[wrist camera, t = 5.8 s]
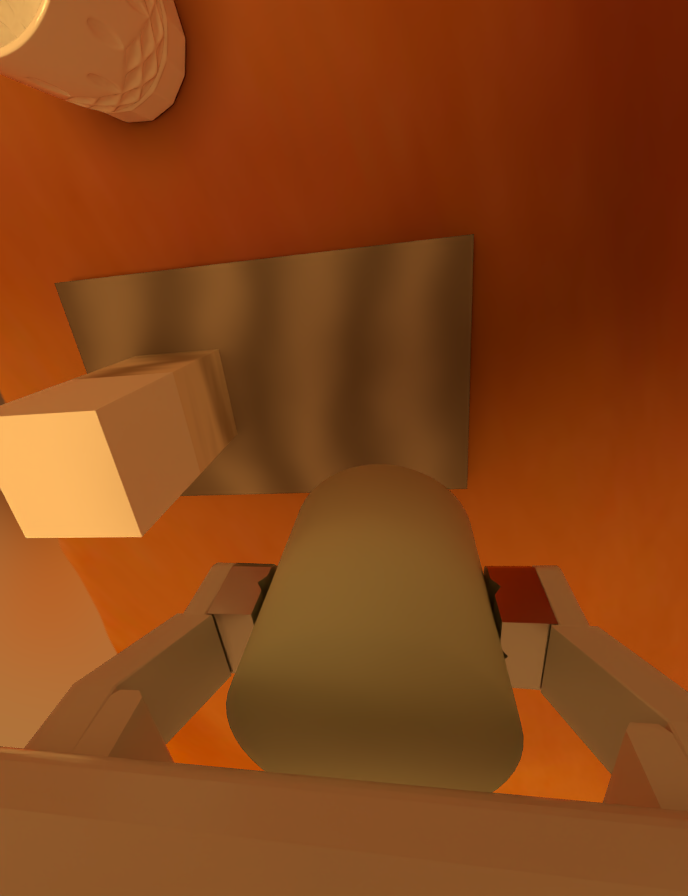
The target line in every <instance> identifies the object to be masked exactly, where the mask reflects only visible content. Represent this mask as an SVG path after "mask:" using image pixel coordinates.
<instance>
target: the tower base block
mask: <svg viewBox="0 0 688 896" xmlns="http://www.w3.org/2000/svg"><path fill="white" fill-rule="evenodd" d="M168 372H173V375H174V379H175V383H176V386H177V390H178V394H179V397H180V401H181V404H182V408H183V412H184V415H185V419H186V422H187V426H188V430H189V433H190V437H191V441H192V444H193V448H194V451H195V455H196V459H197V462H198V466H199V470H200V473H202V472H203V471H204V469H205V468H206V467H207V466H208V465H209V464H210V463H211V462H212V461H213V460H214V459H215V458H216V456H217V455H218V454H219V453H220V452H221V451H222V450H223V449H224V448H225V447H226V446H227V445H228V444H229V442H230V441H231V440H232V439H233V438H234V437H235V436H236V435H237V430H236V425H235V421H234V416H233V412H232V407H231V403H230V398H229V394H228V390H227V385H226V381H225V376H224V372H223V367H222V363H221V358H220V354H219V349H217V350H205V351H193V352H181V353H169V354H157V355H145V356H135V357H132V358H129V359H126V360H124V361H121V362H118V363H116V364H113V365H110V366H107V367H105V368H102V369H99V370H96V371H94V372H91V373H88V374H85V375H83V376H80V377H77V378H75V379H72V380H76V379H89V378H102V377H115V376H129V375H142V374H155V373H168Z"/></svg>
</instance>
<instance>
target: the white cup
mask: <svg viewBox="0 0 688 896" xmlns="http://www.w3.org/2000/svg"><path fill="white" fill-rule="evenodd" d="M0 75H3V76H5V77H8V78H10V79H13V80H15V81H17V82H20V83H22V84H25V85H27V86H30V87H32V88H35V89H37V90H39V91H42V92H44V93H47V94H49V95H52V96H54V97H57V98H59V99H63V100H66V101H68V102H71V103H73V104H76V105H79V106H82V107H84V108H89V109H93V110H98V111H101V112H104V113H106V114H108V115H111V116H113V117H115V118H117V119H120V120H122V121H124V122H127V123H130V122H143V121H153V120H154V119H155V118H157V117H158V116H159V115H160V114H162V113H163V112H164V111H165V110H166V109H168V108H169V107H170V106H171V105H173V103H174V100H175V98H176V96H177V93H178V91H179V88H180V86H181V84H182V81H183V79H184V76H185V36H184V32H183V29H182V26H181V23H180V19H179V16H178V13H177V10H176V7H175V3H174V1H173V0H0Z"/></svg>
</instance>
